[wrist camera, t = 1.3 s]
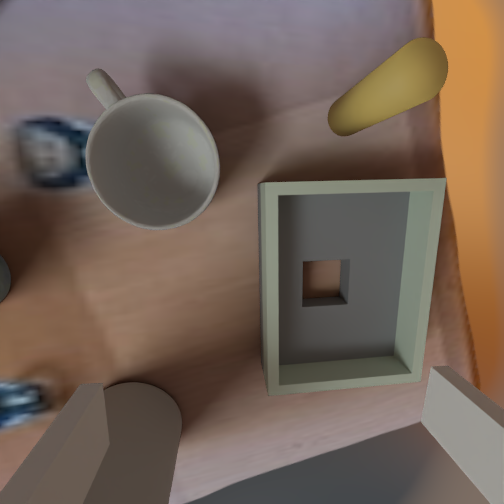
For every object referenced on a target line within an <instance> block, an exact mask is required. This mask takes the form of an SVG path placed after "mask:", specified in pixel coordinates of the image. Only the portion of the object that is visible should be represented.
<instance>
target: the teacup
mask: <svg viewBox="0 0 504 504" xmlns="http://www.w3.org/2000/svg"><path fill="white" fill-rule="evenodd" d="M86 82H87V84H88V86H89V88H90V89H91V91H92V92H93V94H94V95H95V96H96V98H97V99H98V100H99V101H100V103H101V104H102V105H103V106H104V107H105V108H106V110H105V111H104V112H103V113H102V115H101V116H100V117H99V118H98V120H97V121H96V123H95V124H94V126H93V128H92V130H91V131H90V134H89V137H88V141H87V146H86V167H87V172H88V176H89V178H90V181H91V184H92V186H93V189H94V191H95V192H96V194H97V196H98V197H99V199H100V200H101V202H102V203H103V204H104V205H105V206H106V207H107V208H108V209H109V210H110V211H111V212H112V213H113V214H115V215H116V216H117V217H119V218H120V219H122V220H124V221H126V222H127V223H129V224H131V225H134V226H137V227H140V228H144V229H149V230H167V229H171V228H176V227H179V226H182V225H184V224H187V223H189V222H190V221H192V220H194V219H195V218H196V217H198V216H199V215H200V214H201V213H202V212H203V211H204V210H205V209H206V208H207V207H208V205H209V204H210V202H211V201H212V199H213V197H214V195H215V192H216V189H217V186H218V183H219V178H220V159H219V153H218V149H217V145H216V142H215V140H214V138H213V136H212V134H211V132H210V130H209V128H208V127H207V126H206V124H205V123H204V121H203V120H202V119H201V118H200V117H199V116H198V115H197V114H196V113H195V112H194V111H193V110H192V109H190V108H189V107H188V106H186V105H185V104H183V103H182V102H180V101H177V100H175V99H172V98H170V97H168V96H164V95H160V94H151V93H146V94H138V95H133V96H130V97H127V98H126V96H125V95H124V94H123V92H122V91H121V90H120V88H119V87H118V86H117V85H116V83H115V82H114V81H113V80H112V79H111V77H110V76H109V75H108V74H107V73H106V72H105V71H103V70H102V69H95V70H93V71H92V72H90V73H89V74H88V76H87V78H86Z"/></svg>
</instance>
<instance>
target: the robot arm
mask: <svg viewBox="0 0 504 504" xmlns="http://www.w3.org/2000/svg"><path fill="white" fill-rule="evenodd" d="M421 422H422V423H423V425H424V426H425V427H426V428H427V429H428V431H429V432H430V433H431V434H432V435H433V437H435V439H436V440H437V441H438V442H439V444H440V445H441V446H442V447H443V448H444V449H445V451H446V452H447V453H448V454H449V455H450V457H451V458H452V459H453V460H454V461H455V462H456V463H457V465H458V466H459V467H460V468H461V469H462V471H463V472H464V473H465V474H466V475H467V476H468V478H469V479H470V480H471V481H472V482H473V483H474V485H475V486H476V487H477V488H478V489H479V491H480V492H481V493H482V494H483V495H484V496H485V498H486V499H487V500H488V501H489V502H490V504H504V409H502V408H501V407H500V406H499V405H497V404H496V403H495V402H493V401H492V400H491V399H490V398H488V397H487V396H486V395H485V394H483V393H482V392H481V391H479V390H478V389H477V388H476V387H474V386H473V385H472V384H471V383H469V382H468V381H467V380H465V379H464V378H463V377H462V376H460V375H459V374H458V373H456V372H455V371H454V370H453V369H451V368H450V367H449V366H434V367H431V370H430V375H429V381H428V386H427V392H426V397H425V402H424V408H423V413H422V419H421ZM109 445H110V442H109V433H108V425H107V416H106V408H105V399H104V391H103V383H94V384H81V385H80V386H79V387H78V389H77V390H76V391H75V393H74V394H73V395H72V397H71V398H70V399H69V401H68V402H67V403H66V405H65V406H64V407H63V409H62V410H61V412H60V413H59V414H58V416H57V417H56V418H55V420H54V421H53V422H52V424H51V425H50V426H49V428H48V429H47V430H46V432H45V433H44V434H43V436H42V437H41V439H40V440H39V441H38V443H37V444H36V445H35V447H34V448H33V449H32V451H31V452H30V453H29V455H28V456H27V457H26V459H25V460H24V461H23V463H22V464H21V466H20V467H19V468H18V470H17V471H16V472H15V474H14V475H13V476H12V478H11V479H10V480H9V482H8V483H7V484H6V486H5V487H4V488H3V490H2V491H1V493H0V504H83V502H84V500H85V498H86V496H87V493H88V491H89V489H90V487H91V485H92V482H93V480H94V478H95V476H96V473H97V471H98V469H99V467H100V465H101V462H102V460H103V458H104V456H105V453H106V451H107V449H108V447H109Z"/></svg>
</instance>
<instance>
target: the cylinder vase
mask: <svg viewBox="0 0 504 504" xmlns="http://www.w3.org/2000/svg"><path fill="white" fill-rule="evenodd" d="M103 391H104V399H105V408H106V416H107V425H108V433H109V442H110V445H109V447H108V449H107V451H106V453H105V456H104V458H103V460H102V462H101V465H100V467H99V469H98V471H97V473H96V476H95V478H94V480H93V482H92V485H91V487H90V489H89V491H88V493H87V496H86V498H85V500H84V502H83V504H168V503H169V497H170V492H171V486H172V481H173V475H174V469H175V464H176V458H177V453H178V447H179V442H180V436H181V430H182V417H181V413H180V410H179V408H178V406H177V404H176V403H175V401H174V400H173V399H172V398H171V397H170V396H169V395H168V394H167V393H166V392H164V391H163V390H161V389H159V388H157V387H155V386H152V385H149V384H145V383H138V382H129V383H122V384H117V385H114V386H111V387H109V388H107V389H105V390H103Z"/></svg>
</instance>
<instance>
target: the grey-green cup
mask: <svg viewBox="0 0 504 504" xmlns="http://www.w3.org/2000/svg"><path fill="white" fill-rule="evenodd" d="M10 285H11V275H10V271H9V268H8V266H7V264H6V262H5V260H4V259H3V258H2V256H1V255H0V302H1V301H2V300H3V299H4V298H5V297H6V295H7V293H8V291H9V289H10Z"/></svg>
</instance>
